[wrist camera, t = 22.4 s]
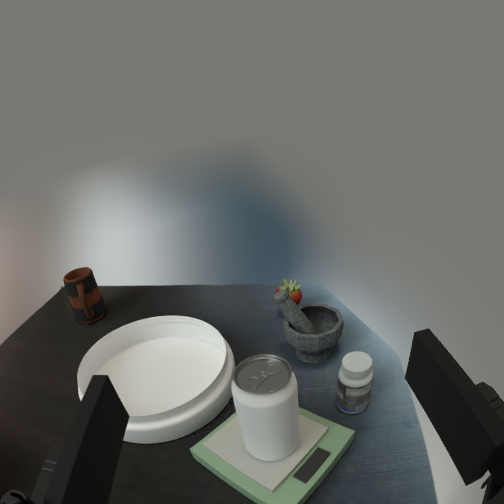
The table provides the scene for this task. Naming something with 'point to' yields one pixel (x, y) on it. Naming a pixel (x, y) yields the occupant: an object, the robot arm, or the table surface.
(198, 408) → the white round shallow dish
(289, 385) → the can
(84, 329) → the table surface
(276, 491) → the kitchen scale
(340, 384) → the pill bottle
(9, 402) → the table surface
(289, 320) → the mortar and pestle
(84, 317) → the mug
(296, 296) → the fruit
